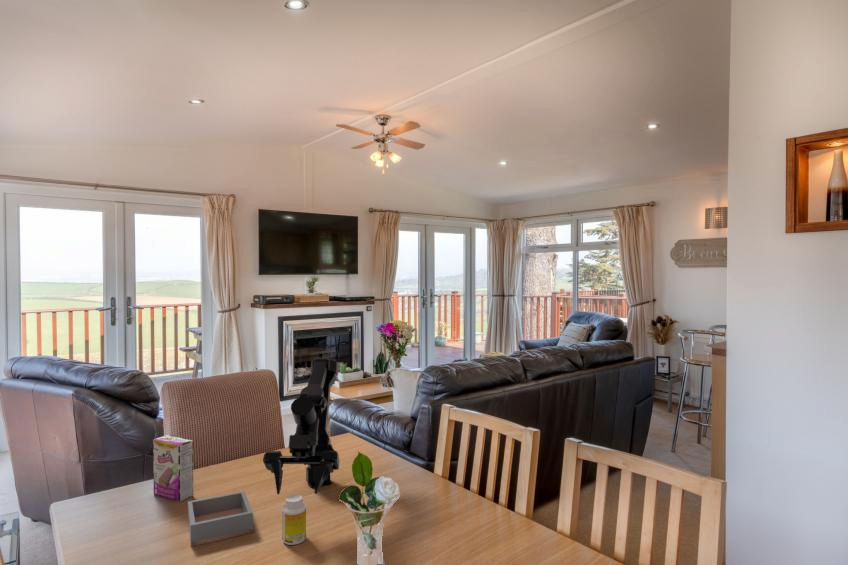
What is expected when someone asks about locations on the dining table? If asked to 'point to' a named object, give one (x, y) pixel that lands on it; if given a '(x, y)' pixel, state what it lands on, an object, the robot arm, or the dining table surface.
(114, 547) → the dining table surface
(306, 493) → the dining table surface
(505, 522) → the dining table surface
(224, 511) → the walled box
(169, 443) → the candy bar box
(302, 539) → the supplement bottle
